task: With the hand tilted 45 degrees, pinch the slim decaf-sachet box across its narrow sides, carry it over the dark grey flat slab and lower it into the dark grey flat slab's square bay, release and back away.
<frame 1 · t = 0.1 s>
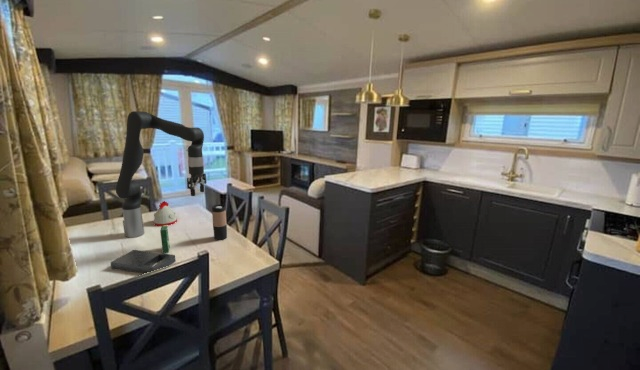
hand: (197, 193, 154), 29 cm above the table, tool pointing down, fingers open, 8 cm apart
travel mug: (220, 238, 167), on the table
kitchen timer: (165, 222, 190), on the table
coffee box: (166, 250, 151), on the table
dark grey flat slab: (144, 264, 135), on the table
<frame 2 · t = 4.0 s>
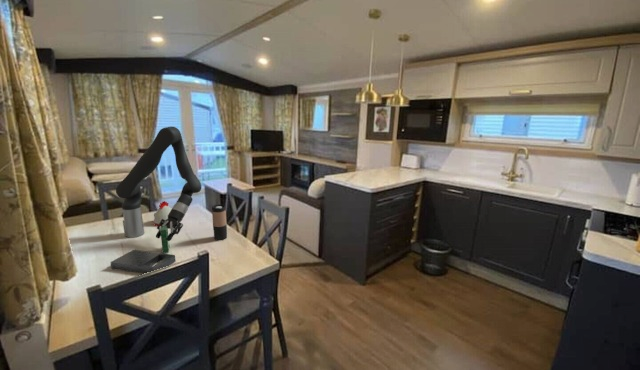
hand: (162, 239, 148), 7 cm above the table, tool tilted 45°, fingers closed on coffee box, 7 cm apart
coffee box: (166, 250, 151), on the table, touching gripper
everything else where it was.
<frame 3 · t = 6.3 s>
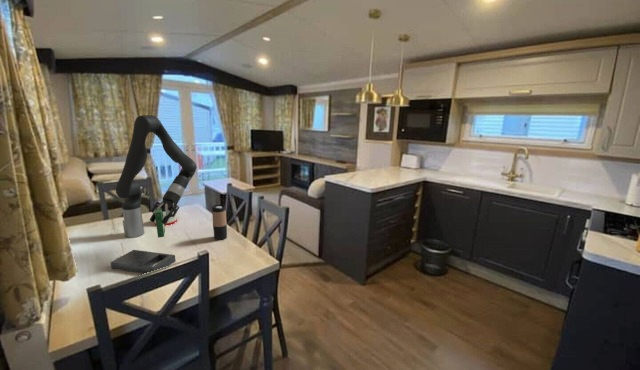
hand: (157, 222, 137), 20 cm above the table, tool tilted 45°, fingers closed on coffee box, 7 cm apart
coffee box: (161, 234, 141), point 12 cm above the table, touching gripper
everything else where it was.
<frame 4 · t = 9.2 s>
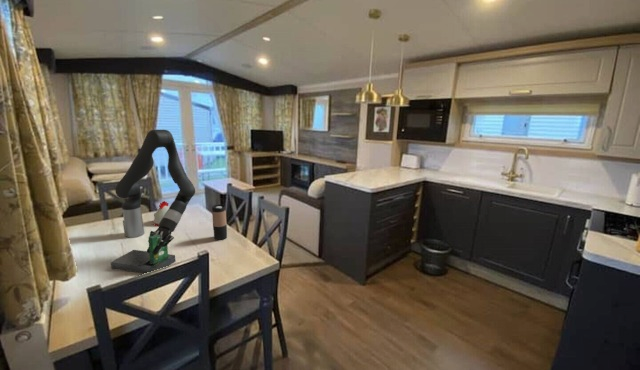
hand: (151, 253, 130), 8 cm above the table, tool tilted 45°, fingers closed on coffee box, 3 cm apart
coffee box: (159, 260, 135), point 2 cm above the table, touching gripper
everything else where it was.
when the fingers open (8 cm above the table, at t = 9.3 s): coffee box drops 2 cm, resting in dark grey flat slab.
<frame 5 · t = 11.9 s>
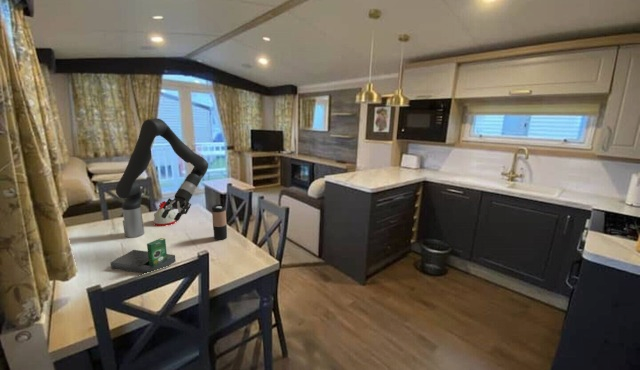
hand: (169, 219, 139), 21 cm above the table, tool tilted 45°, fingers open, 8 cm apart
coffee box: (159, 266, 135), resting in dark grey flat slab
everything else where it was.
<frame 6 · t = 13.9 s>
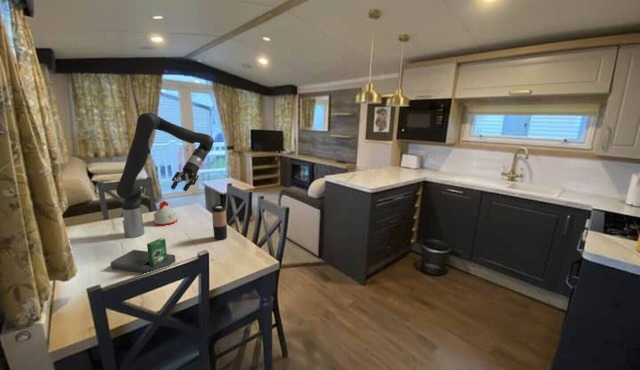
hand: (178, 189, 148), 33 cm above the table, tool tilted 45°, fingers open, 8 cm apart
nothing on the table moved.
at the end: coffee box inside the target area on the dark grey flat slab (0.9 cm from its centre), point 0.0 cm above the dark grey flat slab's base; coffee box tilted 0°; the gripper is holding nothing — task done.
